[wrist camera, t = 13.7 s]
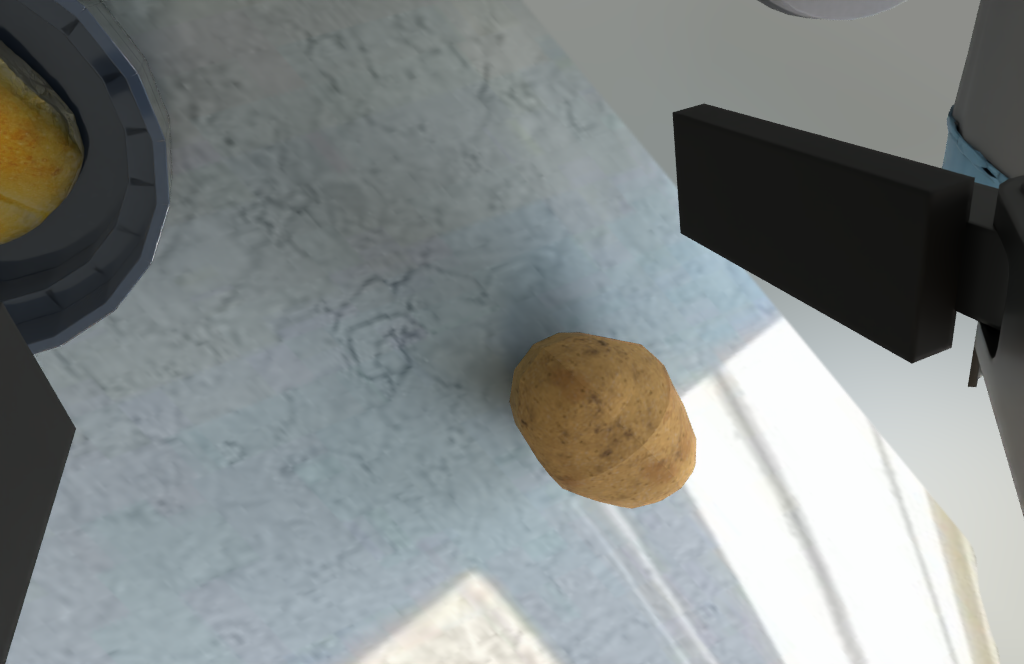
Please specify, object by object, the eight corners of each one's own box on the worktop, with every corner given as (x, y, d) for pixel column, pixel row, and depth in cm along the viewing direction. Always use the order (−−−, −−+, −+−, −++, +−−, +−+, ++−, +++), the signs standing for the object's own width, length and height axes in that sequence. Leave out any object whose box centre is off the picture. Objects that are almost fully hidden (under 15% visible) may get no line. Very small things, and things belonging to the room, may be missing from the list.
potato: (560, 262, 44) (626, 314, 37) (676, 387, 52) (748, 448, 45) (446, 378, 45) (492, 450, 38) (578, 485, 52) (635, 560, 46)
